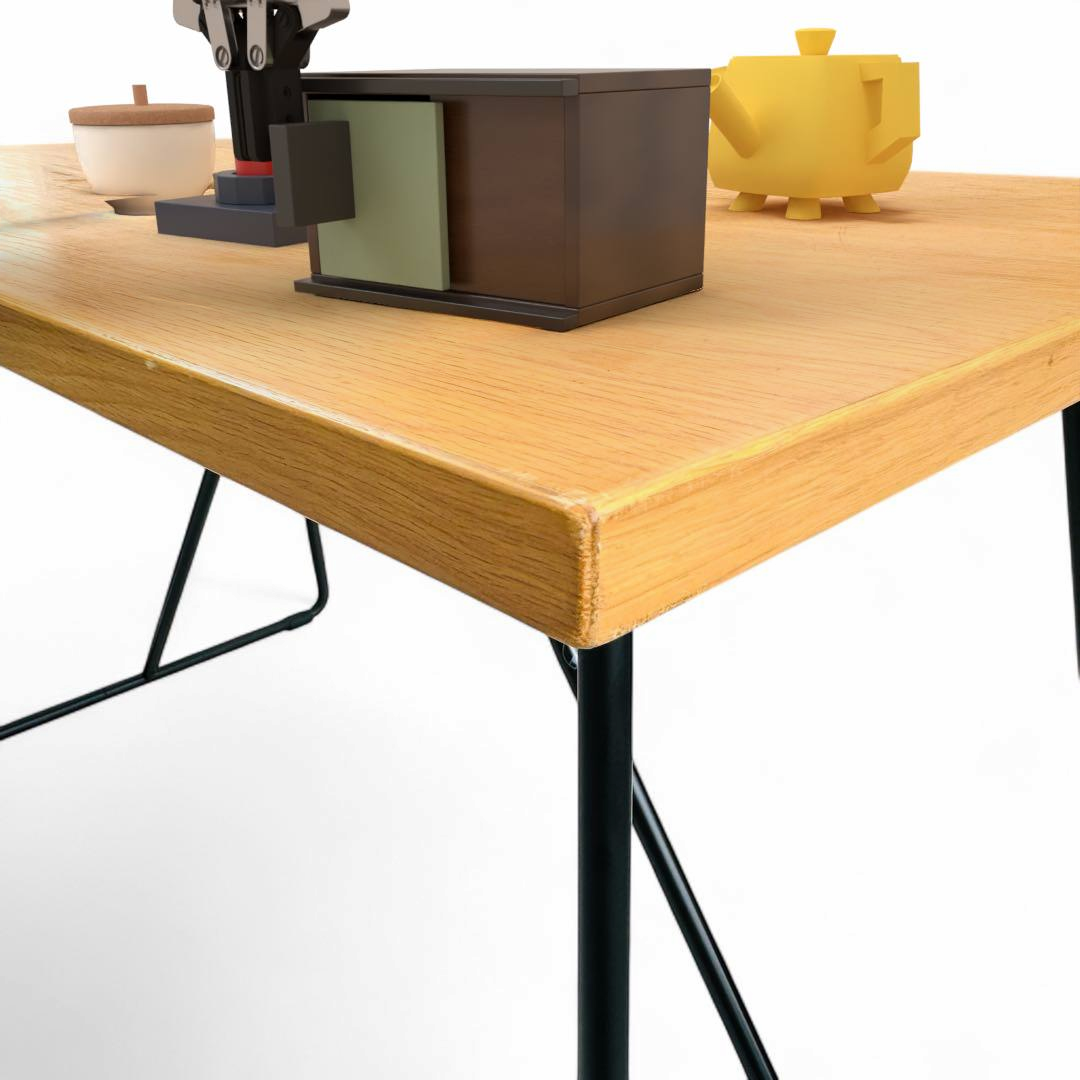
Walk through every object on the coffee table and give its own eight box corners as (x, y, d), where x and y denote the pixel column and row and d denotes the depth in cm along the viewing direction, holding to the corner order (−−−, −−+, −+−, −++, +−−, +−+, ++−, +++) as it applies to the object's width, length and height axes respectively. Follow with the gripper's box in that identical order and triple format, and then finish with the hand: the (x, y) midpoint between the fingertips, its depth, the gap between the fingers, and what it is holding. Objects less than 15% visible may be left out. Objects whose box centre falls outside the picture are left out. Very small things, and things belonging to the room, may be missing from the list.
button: (224, 179, 82) (221, 152, 82) (269, 174, 85) (266, 148, 85) (263, 182, 80) (261, 154, 79) (308, 177, 83) (306, 150, 82)
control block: (157, 233, 84) (150, 173, 82) (268, 218, 91) (263, 162, 90) (275, 248, 77) (269, 182, 76) (384, 229, 84) (381, 170, 83)
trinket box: (61, 211, 96) (41, 85, 93) (185, 200, 103) (171, 82, 99) (119, 224, 89) (100, 87, 85) (249, 210, 95) (237, 83, 92)
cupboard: (562, 332, 53) (561, 73, 49) (294, 291, 63) (275, 73, 59) (703, 288, 62) (712, 68, 58) (450, 259, 72) (442, 68, 68)
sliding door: (383, 305, 54) (371, 105, 51) (260, 286, 59) (242, 103, 56) (450, 289, 58) (443, 101, 54) (329, 273, 62) (316, 99, 59)
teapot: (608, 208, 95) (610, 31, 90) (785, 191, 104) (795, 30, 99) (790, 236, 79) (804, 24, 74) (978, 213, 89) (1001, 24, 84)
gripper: (46, -283, 52) (109, 160, 59) (282, -352, 44) (324, 173, 51) (187, -253, 58) (230, 149, 65) (420, -309, 50) (441, 159, 56)
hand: (271, 158), depth 58 cm, fingers closed
